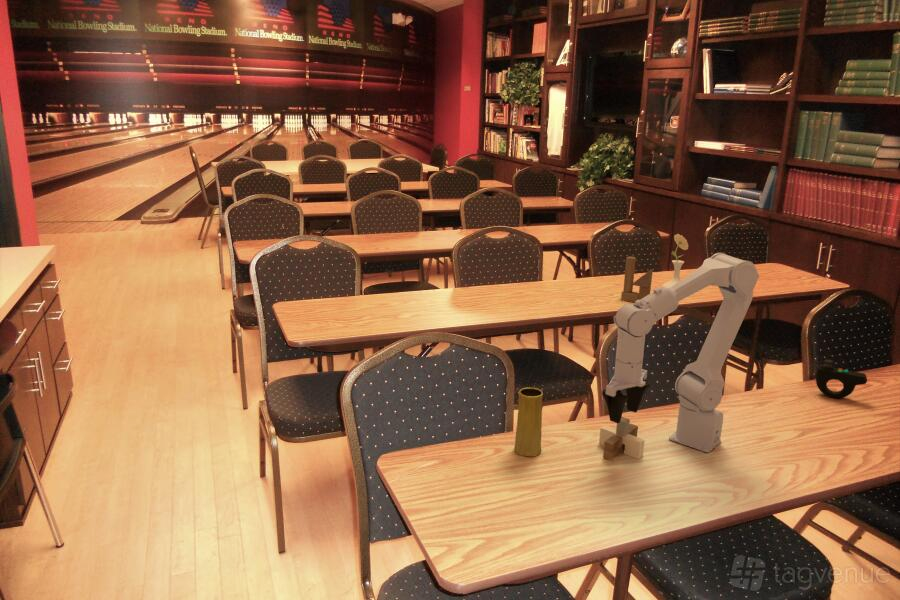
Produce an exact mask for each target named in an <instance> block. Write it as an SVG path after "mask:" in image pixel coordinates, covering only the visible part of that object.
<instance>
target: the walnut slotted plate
mask: <svg viewBox="0 0 900 600" xmlns="http://www.w3.org/2000/svg"><path fill="white" fill-rule="evenodd" d="M638 428H639V426H638V425H635V424H633V423H629V433H628V434H630V435H633V436H635V437H638V432H639V431H638V430H639V429H638ZM622 438H623V437H621V436H618V435H615V434H614V435H613V436H611V437H610V438H608V439H607V440H606V441H605V442H604V445H603V454H602V458H604V459H606V460H608V461H613V460H614V459H615V458H617V457H618V456H620V455H621V454H622V453H623V452H624V451H625V445H624V444H622Z"/></svg>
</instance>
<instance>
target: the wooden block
mask: <svg viewBox="0 0 900 600" xmlns="http://www.w3.org/2000/svg"><path fill="white" fill-rule="evenodd" d="M636 260H637V258H636V257H635V256H626V259H625V270H624V271H625V272H624V281H623V282H624V283H623V291H621V295H620V296H621V297H620V300H621V301H623V300H624V301H623V302H628V301H629V303H633V304H634V303H635V301H637V300H641V299H642V298H644V297H646V296H647V295H649V294H651V288H652V280H653V272H654V271H653V268H651V269H650V270H648V271H647V272H645V273H644V274H643V275H642V276H641V277H639V278H638V279H637V280H635V281H634V278H635V270H636ZM634 286H636V287H639V289H638V292H637V291H633V290H634V289H633V288H634Z"/></svg>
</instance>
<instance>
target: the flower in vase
mask: <svg viewBox="0 0 900 600" xmlns="http://www.w3.org/2000/svg"><path fill="white" fill-rule="evenodd" d="M673 238H674V242H675V243H676V245H677V246H676V248H675V251H674V250H672V252H671V253H670V255H672V256H673V257H675V260H671V262H672V264H673V268H674V270H673V271H674V272H673V276H672V278H671V279H670V280H668V281H666V282H665V283H663V284H662V285H661V287H666V288H671V287H672V286H674V285H675V284H676V283H678V282H679V281H681V280H682V279H681V278H680V271H681V269H682V266H683V264H684V263H685V261H684V260H679V258H681V257H682V256H684V254H681V255H679V256H677V250H678V248H680V249H681V250H684V251H687V250H688V249H689V243H688V240H687V239H686V238H685V237H684V236H683V235H682V234H681V235H680V234H679V233H677V234H674V237H673Z"/></svg>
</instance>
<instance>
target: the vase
mask: <svg viewBox="0 0 900 600" xmlns="http://www.w3.org/2000/svg"><path fill="white" fill-rule="evenodd" d="M543 396H544V393H543V390H541V389H540V388H536V387H523V388H521V389H519V391H518V407H517V408H518V409H517V417H516V418H517V421H516V431H515V442H514V448H513V449H514V452H515V453H517V454H518V456H519V455H520V456H521V457H522V456H523V457H528V458H529V457H531V458H532V457H533V458H534V457H536V456H538V455H541V453H542V425H543V424H542V423H543V422H542V421H543Z"/></svg>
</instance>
